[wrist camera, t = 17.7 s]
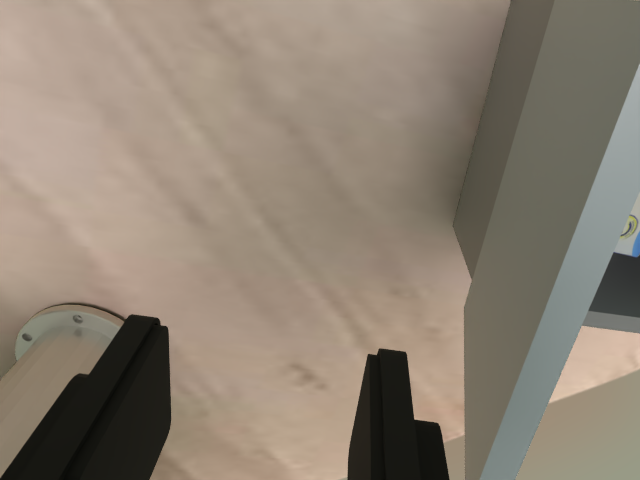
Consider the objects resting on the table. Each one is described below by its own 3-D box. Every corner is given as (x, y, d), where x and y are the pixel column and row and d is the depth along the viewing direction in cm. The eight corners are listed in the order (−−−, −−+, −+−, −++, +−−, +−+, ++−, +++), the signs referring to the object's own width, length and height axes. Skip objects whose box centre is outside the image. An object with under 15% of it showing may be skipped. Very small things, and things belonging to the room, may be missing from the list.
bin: (627, 248, 38) (717, 344, 29) (453, 225, 38) (483, 312, 29) (732, 15, 31) (902, 36, 21) (514, -13, 31) (583, -5, 21)
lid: (495, 525, 17) (464, 516, 18) (482, 312, 29) (464, 307, 29) (717, 10, 10) (662, 3, 10) (582, -5, 21) (556, -8, 21)
